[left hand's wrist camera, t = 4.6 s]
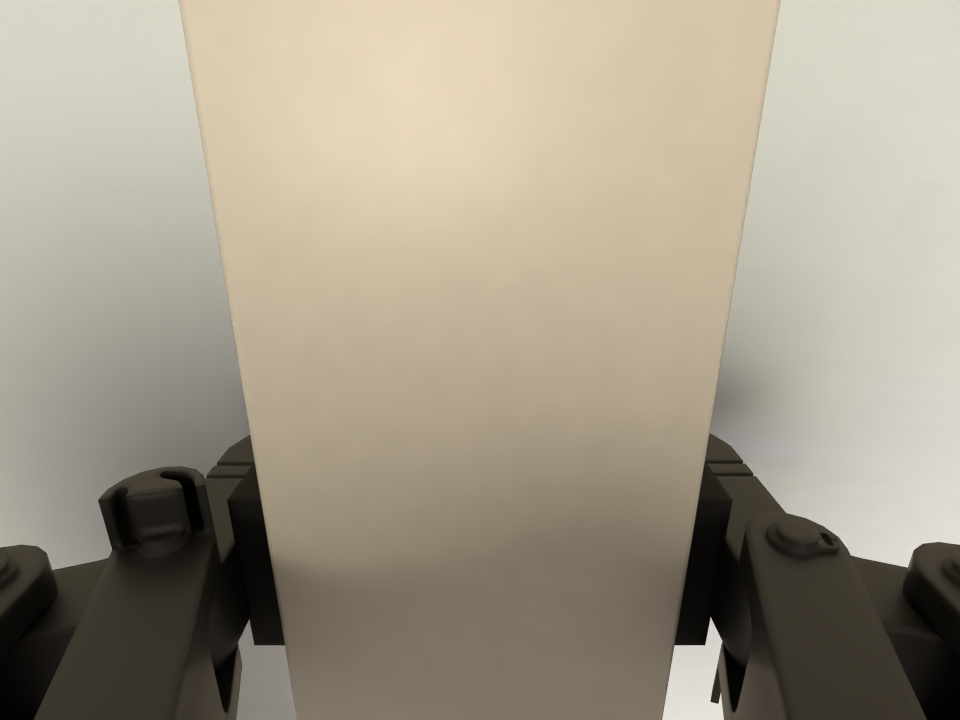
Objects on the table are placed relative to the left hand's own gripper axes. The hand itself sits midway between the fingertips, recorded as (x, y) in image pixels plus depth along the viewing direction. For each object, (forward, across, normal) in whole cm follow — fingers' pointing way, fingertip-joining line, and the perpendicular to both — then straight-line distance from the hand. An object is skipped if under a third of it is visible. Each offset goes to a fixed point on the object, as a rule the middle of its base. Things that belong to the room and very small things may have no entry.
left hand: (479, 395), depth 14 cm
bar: (+1, 0, -18) cm, 19 cm away
